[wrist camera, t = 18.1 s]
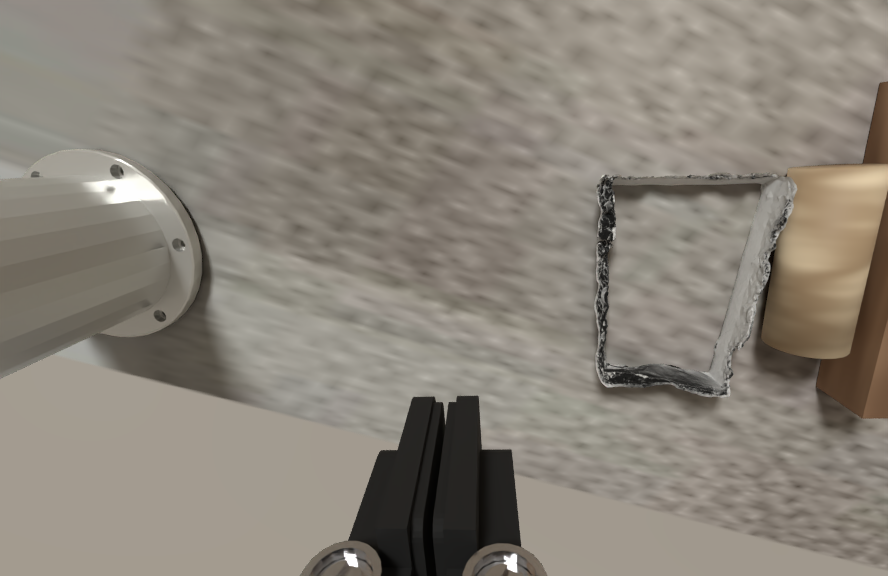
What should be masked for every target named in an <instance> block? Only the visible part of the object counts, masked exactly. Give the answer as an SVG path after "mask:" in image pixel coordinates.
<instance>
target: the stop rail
mask: <svg viewBox="0 0 888 576" xmlns="http://www.w3.org/2000/svg"><path fill="white" fill-rule="evenodd" d="M863 164H888V82H882V83H880V85H879V90H878V95H877V100H876V104H875V109H874V114H873V119H872V123H871V128H870V133H869V137H868V142H867V147H866V152H865V156H864V161H863ZM816 387H818V388H819V389H820V390H822V391H823V392H825V393H826V394H828V395H829V396H831V397H832V398H833V399H835V400H836V401H838V402H839V403H841V404H842V405H844V406H845V407H846V408H848V409H849V410H851V411H852V412H854V413H855V414H857V415H858V416H859V417H861V418H888V191H887V196H886V200H885V204H884V209H883V213H882V217H881V221H880V226H879V230H878V234H877V239H876V243H875V247H874V252H873V256H872V260H871V265H870V269H869V273H868V277H867V282H866V286H865V290H864V295H863V299H862V303H861V308H860V312H859V316H858V320H857V325H856V329H855V333H854V338H853V342H852V346H851V351H850V354H849V355H847V356H845V357H842V358H837V359H822V360H821V364H820V369H819V374H818V379H817V383H816Z"/></svg>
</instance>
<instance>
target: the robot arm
mask: <svg viewBox="0 0 888 576" xmlns="http://www.w3.org/2000/svg"><path fill="white" fill-rule="evenodd" d="M201 276H202V253H201V249H200V244H199V239H198V236H197V233H196V231H195V228H194V226H193V223H192V220H191V218H190V217H189V215H188V213H187V212H186V210H185V208H184V207H183V205H182V203H181V202H180V200H179V199H178V198H177V197H176V196H175V194H174V193H173V192H172V191H171V189H170V188H169V187H168V186H167V185H166V184H165V183H164V182H163V181H161V180H160V179H159V178H158V177H157V176H156V175H155V174H154V173H152V172H151V171H149V170H148V169H146V168H145V167H143V166H142V165H140V164H138V163H137V162H135V161H133V160H131V159H128V158H126V157H124V156H121V155H119V154H116V153H111V152H107V151H102V150H91V149H73V150H62V151H58V152H56V153H53V154H50V155H47V156H45V157H43V158H42V159H40V160H39V161H37V162H36V163H34V164H33V165H32V166H31V167H30V168H29V169H28V170H27V171H26V173H25V174H24V175H23V176H22V177H21V178H15V179H0V379H1V378H3V377H5V376H7V375H10V374H12V373H14V372H16V371H18V370H20V369H23V368H25V367H27V366H29V365H31V364H33V363H35V362H38V361H40V360H42V359H44V358H46V357H48V356H50V355H53V354H55V353H57V352H59V351H61V350H63V349H65V348H68V347H70V346H72V345H74V344H76V343H78V342H80V341H83V340H85V339H87V338H89V337H91V336H93V335H95V334H98V333H102V334H106V335H111V336H115V337H138V336H145V335H149V334H151V333H154V332H157V331H160V330H161V329H163V328H165V327H167V326H169V325H170V324H172V323H174V322H175V321H177V320H178V319H179V318H180V317H181V316H182V315H184V314H185V313H186V311H187V310H188V309H189V307H190V306H191V304H192V303H193V302H194V299H195V297H196V295H197V292H198V290H199V287H200V282H201ZM300 576H547V574H546V572H545V570H544V568H543V566H542V564H541V563H540V562H539V561H538V559H537V558H536V557H534V555H533V554H531V553H530V552H528V551H527V550H525V549H524V548H522V547H521V540H520V530H519V520H518V511H517V499H516V489H515V479H514V469H513V459H512V451H511V450H482V445H481V428H480V412H479V397H478V396H457V400H456V402H449V404H448V412H447V419H446V426H445V417H444V406H443V402H436V400H435V397H413V399H412V401H411V405H410V408H409V412H408V415H407V419H406V422H405V426H404V429H403V433H402V436H401V440H400V443H399V447H398V450H386V451H385V450H383V451H380V452H379V454H378V457H377V459H376V462H375V465H374V468H373V471H372V474H371V477H370V479H369V482H368V485H367V488H366V491H365V494H364V497H363V500H362V502H361V506H360V509H359V511H358V514H357V517H356V520H355V523H354V525H353V528H352V532H351V534H350V537H349V540H348V541H344V542H339V543H336V544H333V545H331V546H329V547H327V548H325V549H323V550H322V551H321V552H319V553H318V554H317V555H316V556H315V557H313V558H312V559H311V561H310V562H309V563H308V565H307V566H306V567H305V569H304V570H303V571H302V573H301V575H300Z"/></svg>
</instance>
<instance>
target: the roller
mask: <svg viewBox="0 0 888 576" xmlns="http://www.w3.org/2000/svg"><path fill="white" fill-rule="evenodd" d="M787 177H791V178H792V179H793V181H794V183H795V184H796V185H797V191H796V193H795V196H794V201H793V205H794V207H793V210H792V213H791V214H790V216H789V217H788V220H787V223H786V226H785V228H784V229H783V230H782V231H781V232H780V233H779V235H778V238H777V241H776V249H775V253H774V260H773V266H772V272H771V278H770V284H769V291H768V297H767V303H766V309H765V316H764V322H763V328H762V334H761V339H762V341H763V342H764V343H766V344H767V345H769V346H771V347H773V348H775V349H777V350H780V351H783V352H786V353H789V354H793V355H798V356H803V357H809V358H817V359H837V358H842V357H845V356H847V355H849V354H850V351H851V346H852V342H853V338H854V333H855V329H856V325H857V320H858V316H859V312H860V308H861V303H862V299H863V295H864V290H865V286H866V282H867V277H868V273H869V269H870V265H871V260H872V256H873V252H874V247H875V243H876V239H877V234H878V230H879V226H880V221H881V217H882V213H883V209H884V204H885V200H886V196H887V191H888V164H835V165H818V166H804V167H793V168H788V172H787Z"/></svg>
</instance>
